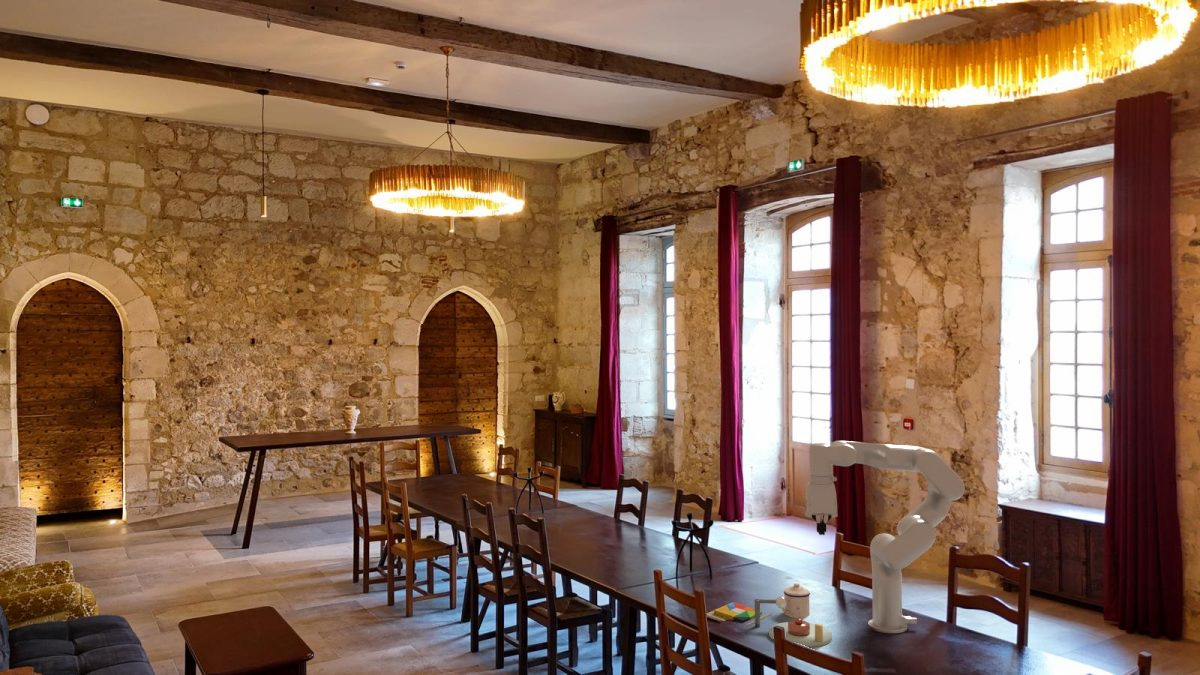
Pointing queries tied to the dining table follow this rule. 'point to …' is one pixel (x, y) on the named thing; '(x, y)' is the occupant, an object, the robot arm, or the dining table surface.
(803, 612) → the teacup with lid
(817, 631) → the turntable
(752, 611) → the wooden puzzle
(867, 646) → the dining table surface
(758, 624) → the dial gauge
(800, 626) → the cover
